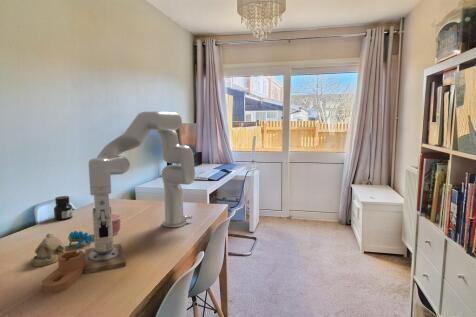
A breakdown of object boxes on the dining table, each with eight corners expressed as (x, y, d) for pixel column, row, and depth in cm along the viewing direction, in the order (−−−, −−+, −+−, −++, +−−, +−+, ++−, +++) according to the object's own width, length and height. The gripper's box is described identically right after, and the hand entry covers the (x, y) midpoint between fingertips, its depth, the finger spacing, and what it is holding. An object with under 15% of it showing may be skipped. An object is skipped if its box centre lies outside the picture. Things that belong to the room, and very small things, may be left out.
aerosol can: (116, 246, 129) (113, 198, 127) (109, 253, 122) (106, 203, 120) (99, 246, 129) (96, 198, 127) (91, 253, 122) (88, 203, 120)
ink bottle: (66, 220, 173) (65, 199, 172) (50, 220, 173) (49, 199, 172) (76, 215, 183) (74, 195, 181) (60, 215, 183) (59, 195, 182)
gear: (98, 238, 143) (85, 228, 136) (94, 251, 140) (80, 241, 132) (77, 240, 145) (63, 230, 138) (72, 252, 142) (57, 243, 134)
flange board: (120, 246, 138) (120, 240, 138) (125, 265, 120) (125, 258, 120) (85, 252, 132) (84, 245, 132) (84, 273, 114) (84, 265, 114)
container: (113, 237, 148) (112, 221, 147) (93, 236, 150) (92, 220, 150) (125, 230, 159) (124, 214, 158) (106, 228, 161) (106, 213, 160)
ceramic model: (43, 252, 133) (41, 229, 132) (71, 250, 134) (69, 227, 133) (25, 267, 119) (23, 242, 118) (57, 265, 121) (55, 240, 119)
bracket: (67, 267, 119) (65, 250, 118) (89, 267, 119) (87, 250, 118) (36, 294, 101) (34, 273, 100) (62, 294, 101) (60, 273, 100)
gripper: (112, 193, 116) (115, 239, 119) (109, 184, 132) (112, 225, 134) (90, 195, 113) (93, 243, 116) (89, 186, 129) (92, 228, 131)
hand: (103, 233), depth 125 cm, fingers closed on aerosol can, 6 cm apart
